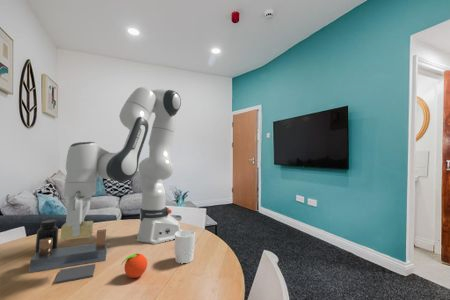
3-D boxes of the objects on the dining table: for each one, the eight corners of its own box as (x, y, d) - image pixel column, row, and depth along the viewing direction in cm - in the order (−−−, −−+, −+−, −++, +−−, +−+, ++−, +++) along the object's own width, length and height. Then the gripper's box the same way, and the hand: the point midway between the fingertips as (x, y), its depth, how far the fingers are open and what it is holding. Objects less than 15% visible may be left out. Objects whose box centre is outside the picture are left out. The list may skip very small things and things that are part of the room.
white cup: (198, 257, 84) (198, 231, 85) (188, 266, 77) (189, 238, 77) (180, 254, 87) (181, 228, 88) (169, 262, 80) (170, 235, 80)
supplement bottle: (44, 255, 83) (46, 224, 83) (30, 253, 84) (32, 222, 85) (61, 248, 90) (63, 219, 90) (48, 247, 91) (49, 218, 92)
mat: (95, 265, 76) (95, 263, 76) (92, 276, 69) (92, 274, 69) (60, 271, 72) (60, 269, 72) (53, 284, 65) (54, 282, 65)
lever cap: (92, 232, 75) (93, 220, 75) (90, 237, 70) (91, 224, 70) (64, 235, 71) (65, 222, 72) (60, 240, 67) (61, 227, 67)
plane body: (106, 251, 87) (108, 226, 88) (105, 260, 80) (106, 233, 81) (37, 262, 78) (39, 234, 78) (29, 272, 71) (31, 241, 71)
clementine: (122, 286, 65) (123, 261, 65) (118, 275, 70) (119, 253, 71) (149, 277, 69) (150, 255, 70) (143, 268, 75) (144, 248, 75)
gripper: (87, 194, 64) (84, 241, 63) (94, 186, 82) (92, 222, 81) (61, 195, 61) (57, 244, 60) (75, 186, 79) (72, 224, 79)
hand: (77, 232), depth 71 cm, fingers closed on lever cap, 5 cm apart
